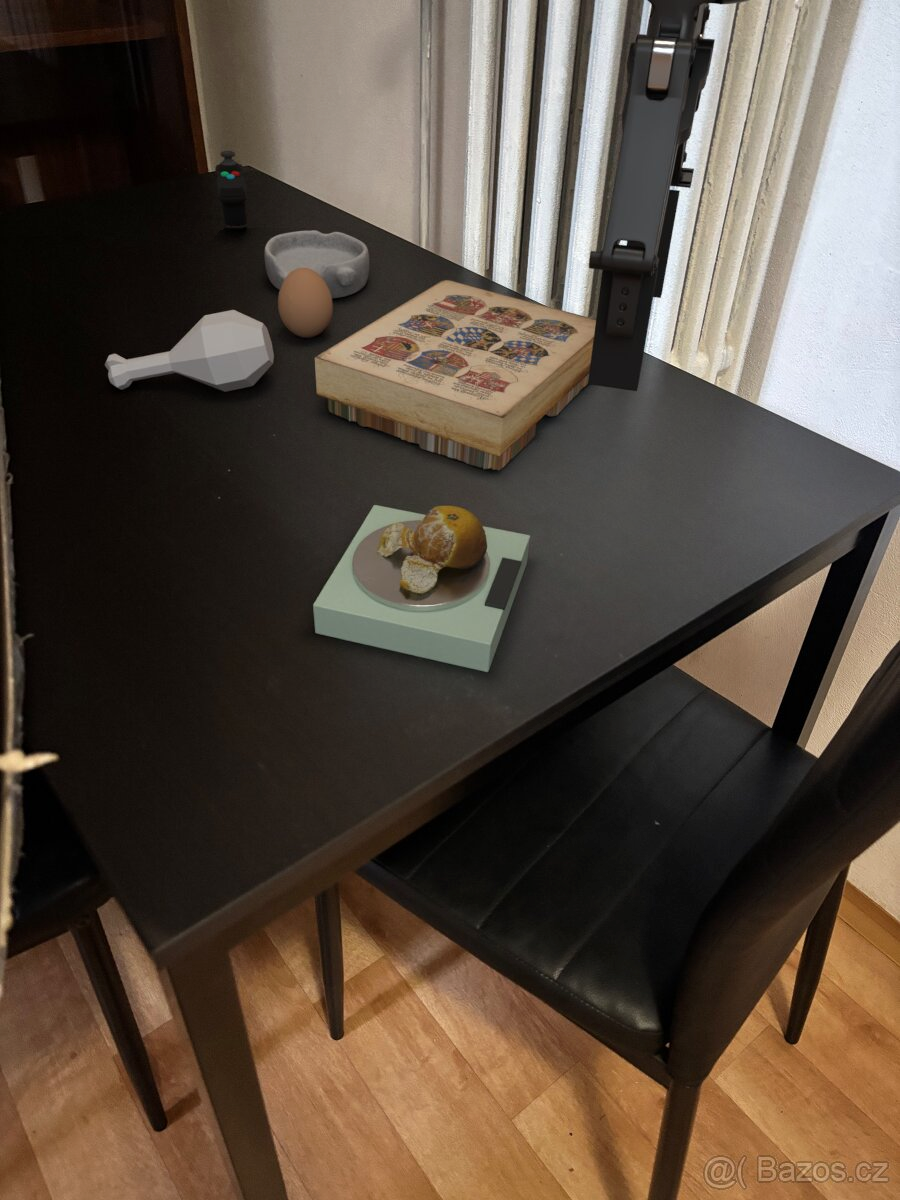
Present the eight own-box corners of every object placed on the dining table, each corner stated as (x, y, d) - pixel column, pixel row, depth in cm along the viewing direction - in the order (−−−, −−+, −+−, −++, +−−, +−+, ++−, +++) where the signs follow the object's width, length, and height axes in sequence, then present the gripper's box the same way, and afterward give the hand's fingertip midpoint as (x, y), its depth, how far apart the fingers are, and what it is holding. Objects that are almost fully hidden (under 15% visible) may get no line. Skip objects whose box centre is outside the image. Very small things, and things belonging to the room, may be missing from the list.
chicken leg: (124, 369, 104) (89, 319, 97) (277, 339, 103) (254, 287, 96) (123, 428, 101) (87, 381, 93) (281, 398, 100) (258, 348, 92)
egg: (345, 333, 112) (342, 267, 106) (310, 352, 107) (306, 284, 102) (304, 320, 114) (299, 254, 109) (269, 337, 110) (263, 270, 105)
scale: (528, 562, 79) (531, 532, 77) (489, 673, 68) (492, 642, 66) (374, 531, 81) (373, 502, 79) (314, 633, 71) (312, 602, 69)
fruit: (369, 538, 74) (368, 501, 72) (461, 517, 77) (463, 480, 75) (407, 600, 69) (408, 562, 66) (505, 574, 72) (509, 537, 69)
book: (431, 318, 116) (296, 405, 98) (432, 268, 112) (292, 350, 94) (608, 369, 108) (497, 476, 89) (617, 317, 103) (503, 418, 85)
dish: (366, 305, 118) (365, 267, 115) (259, 301, 118) (255, 263, 114) (373, 263, 129) (372, 227, 126) (275, 260, 129) (272, 223, 125)
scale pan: (503, 540, 76) (504, 534, 76) (469, 624, 68) (470, 618, 68) (379, 515, 78) (379, 509, 78) (332, 594, 70) (331, 588, 70)
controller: (249, 215, 142) (241, 146, 136) (253, 244, 133) (245, 171, 126) (220, 216, 141) (212, 147, 135) (223, 245, 132) (214, 172, 126)
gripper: (643, -120, 51) (597, 257, 65) (568, -96, 33) (525, 423, 47) (780, -115, 50) (703, 270, 64) (781, -87, 32) (672, 445, 45)
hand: (628, 335), depth 55 cm, fingers open, 13 cm apart
